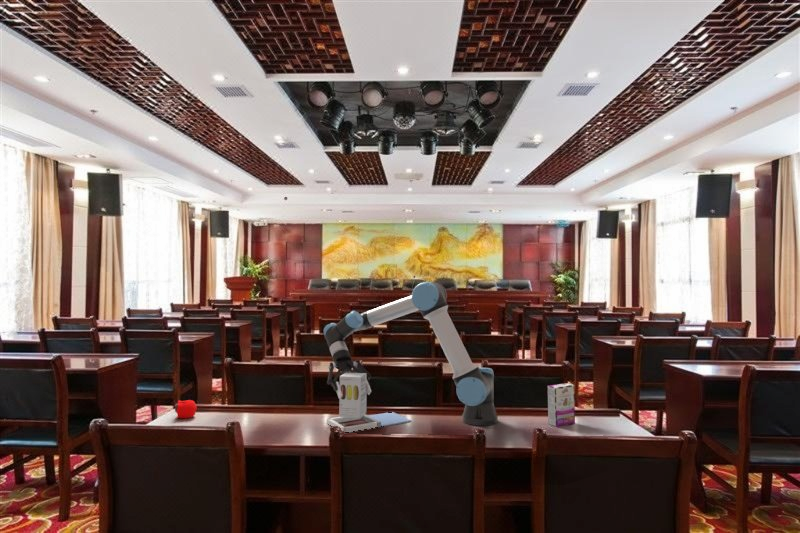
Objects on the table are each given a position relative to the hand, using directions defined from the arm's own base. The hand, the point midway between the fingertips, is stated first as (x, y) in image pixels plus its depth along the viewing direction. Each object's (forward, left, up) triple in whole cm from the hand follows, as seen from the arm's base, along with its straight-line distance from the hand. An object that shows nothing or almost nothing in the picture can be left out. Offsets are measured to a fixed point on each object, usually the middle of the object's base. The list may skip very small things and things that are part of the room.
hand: (355, 395), depth 199 cm
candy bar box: (-41, -77, -13) cm, 88 cm away
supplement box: (+2, 0, -9) cm, 9 cm away
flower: (+50, +58, -13) cm, 78 cm away
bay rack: (+2, -8, -13) cm, 15 cm away
